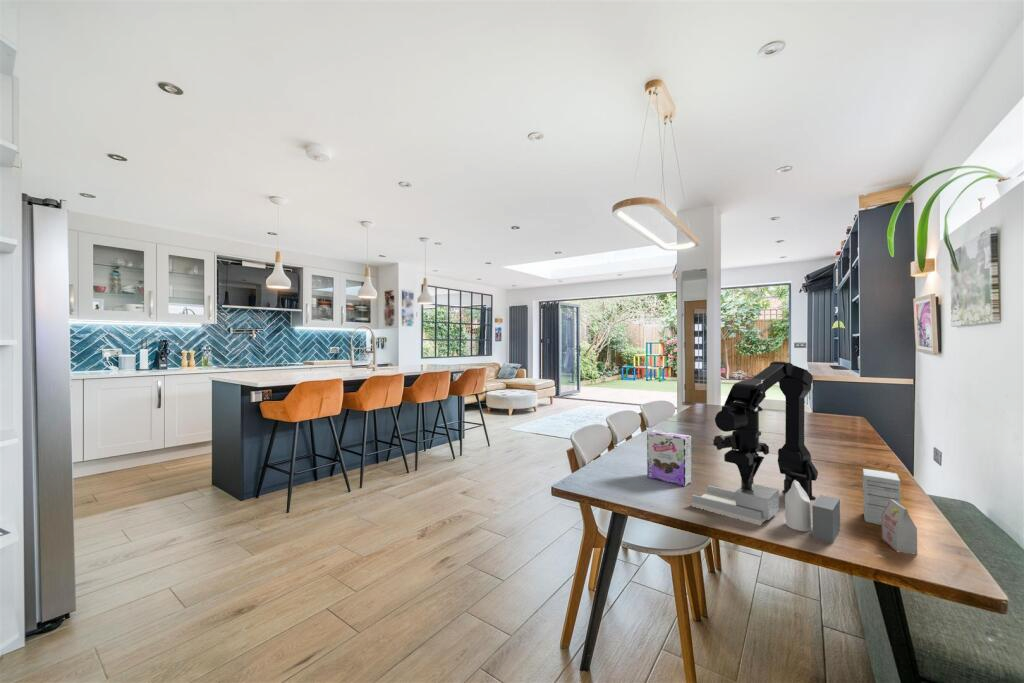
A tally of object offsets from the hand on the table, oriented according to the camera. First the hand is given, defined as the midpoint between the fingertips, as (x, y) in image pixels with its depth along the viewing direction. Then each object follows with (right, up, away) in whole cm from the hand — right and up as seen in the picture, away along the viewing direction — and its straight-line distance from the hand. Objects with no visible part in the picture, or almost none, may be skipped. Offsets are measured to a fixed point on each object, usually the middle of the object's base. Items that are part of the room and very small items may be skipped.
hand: (747, 482), depth 116 cm
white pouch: (+8, -9, -9) cm, 15 cm away
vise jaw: (+2, -7, -2) cm, 7 cm away
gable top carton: (+25, -9, -19) cm, 32 cm away
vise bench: (+2, -9, -2) cm, 9 cm away
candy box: (-11, -9, +28) cm, 32 cm away
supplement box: (+33, -9, -6) cm, 34 cm away
